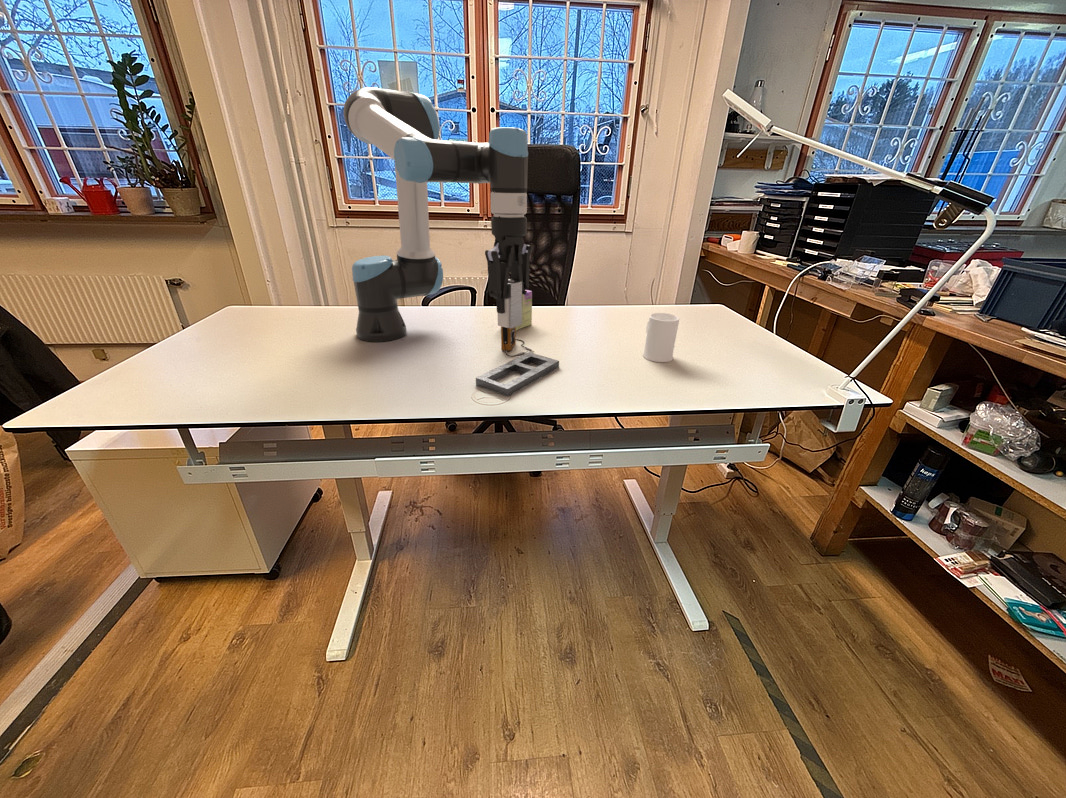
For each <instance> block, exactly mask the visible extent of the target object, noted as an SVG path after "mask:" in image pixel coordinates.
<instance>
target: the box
mask: <svg viewBox="0 0 1066 798" xmlns="http://www.w3.org/2000/svg"><path fill="white" fill-rule="evenodd" d="M525 291H527V293H526V294H525V295H524V294H523V295H522V325H519V326H517V327H516V331H518V330H520V329H523V328H525V327H528V326H532V325H533V323H532V322H533V312H532V311H533V291H532V290H529V289H528V290H525Z"/></svg>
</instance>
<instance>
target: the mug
mask: <svg viewBox="0 0 1066 798" xmlns="http://www.w3.org/2000/svg"><path fill="white" fill-rule="evenodd" d="M648 317H649V319H648V321H647V323H646V331H645V333H646V336H645V344H644V350H643V352H642V357H643V358H644V359H646V360H648V361H651V362H655V363H669V362H672V361H673V359H674V350H675V344H676V339H677V333H678V330H679V329H678V328H679V322H680V317H679V316H677V315H675V314H671V313H667V312H655V313H651V314H650V315H649V316H648Z"/></svg>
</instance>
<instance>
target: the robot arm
mask: <svg viewBox="0 0 1066 798" xmlns="http://www.w3.org/2000/svg"><path fill="white" fill-rule="evenodd" d="M343 119H344V122H345V124H346V127H347V129H348V130H349V131H350V133H351V134H352V135H353V136H354V137H355V138H357V139H358V140H360V142H362V143H365V144H367V145H373V146H375V147H376V148H377V149H379V150H380V151H382V152H383V153H384V154H385V155H386V156H388V157H390V158H391V159H392V160H393V161H394V172H395V182H396V183H395V184H396V195H397V197H396V198H397V209H398V211H397V212H398V222H399V224H398V225H399V235H400V237H399V238H400V248H399V249H397V251H396V259H393V258H392V257H391V256H390V255H373V256H368V257H364V258H361V259H358V260H356V261H355V262H354V263H353V264H352V266H351V273H352V281H353V286H354V290H355V297H356V303H357V307H358V317H357V320H356V328H355V331H356V337H357V339H359V340H360V341H364V342H373V343H374V342H378V343H379V342H380V343H381V342H389V341H394V340H397V339H401V338H403V337H404V336H406V334H407V325H406V323H405V320H404V319H403V317H402V314H401V312H400V311H399V307H398V300H402V299H408V298H415V297H416V298H417V297H427V296H428V295H433V294H436V293H438V292H439V291H440V289H441V288H442V285H443V282H444V270H443V269H444V268H443V267H442V262H441V261H440V259H439V258H438V257H437V256H436V253H435V251H434V250H432V248H431V244H430V243H431V241H430V240H431V238H430V222H429V220H430V218H429V217H430V216H429V192H428V183H460V184H461V183H464V184H467V183H469V184H478V185H479V184H490V213H491V214H493V216H492V217H491V218H490V219H491V220H490V222H491V223H490V224H491V234H492V235H493V236H494V243H493V247H492V248H491V249H485V250H484V255H485V259H486V262H487V278H488V279H487V280H488V295H489V296H490V297H492V298H494V299H496V301H495V303H496V304H495V305H496V313H497V326H499V327H501V326H502V327H506V328H508V327H509V299H507V298H506V295H507V287H508V279H514V280H516V281H522V295H523V294H524V295H525V294H526V293H527V291H525V290H529V289H530V266H531V265H530V260H531V252H532V249H533V246H532V245H530V244H526V243H525V240H524V236H525V237H526V235H527V234H528V219H527V217H526V216H525V215H526V214H527V213H528V212H527V211H528V207H527V206H528V202H527V201H528V194H527V193H528V168H529V167H528V165H529V164H528V163H529V160H528V159H529V150H528V134H527V132H526V130H524V129H522V128H519V127H503V126H502V127H501V126H499V127H493V128H491V130H490V131H489V135H488V141H487V142H473V141H470V142H469V141H460V140H459V141H458V140H457V141H456V140H445V139H444V140H443V139H439V137H440V121H439V118H438V114H437V111H436V108H435V107H434V104H433V102H432V101H431V99H429V98H428V97H427V96H426V95H423V94H420V93H417V92H416V93H415V92H412V91H402V90H394V89H386V88H378V87H375V86H374V87H373V86H370V87H367V86H366V87H361V88H358V89H356V90H354V91H352V93H351V94H349V96H347V98H346V101H345V102H344V106H343ZM509 276H510V278H509ZM501 292H502V293H501Z"/></svg>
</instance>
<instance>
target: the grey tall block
mask: <svg viewBox="0 0 1066 798" xmlns="http://www.w3.org/2000/svg"><path fill="white" fill-rule="evenodd" d="M501 293H502V292H501ZM506 298H507V299H509V327H508V328H514V327H517V326H519V325H522V281H516V280H514V279H511V278H508V287H507V295H506Z"/></svg>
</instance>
